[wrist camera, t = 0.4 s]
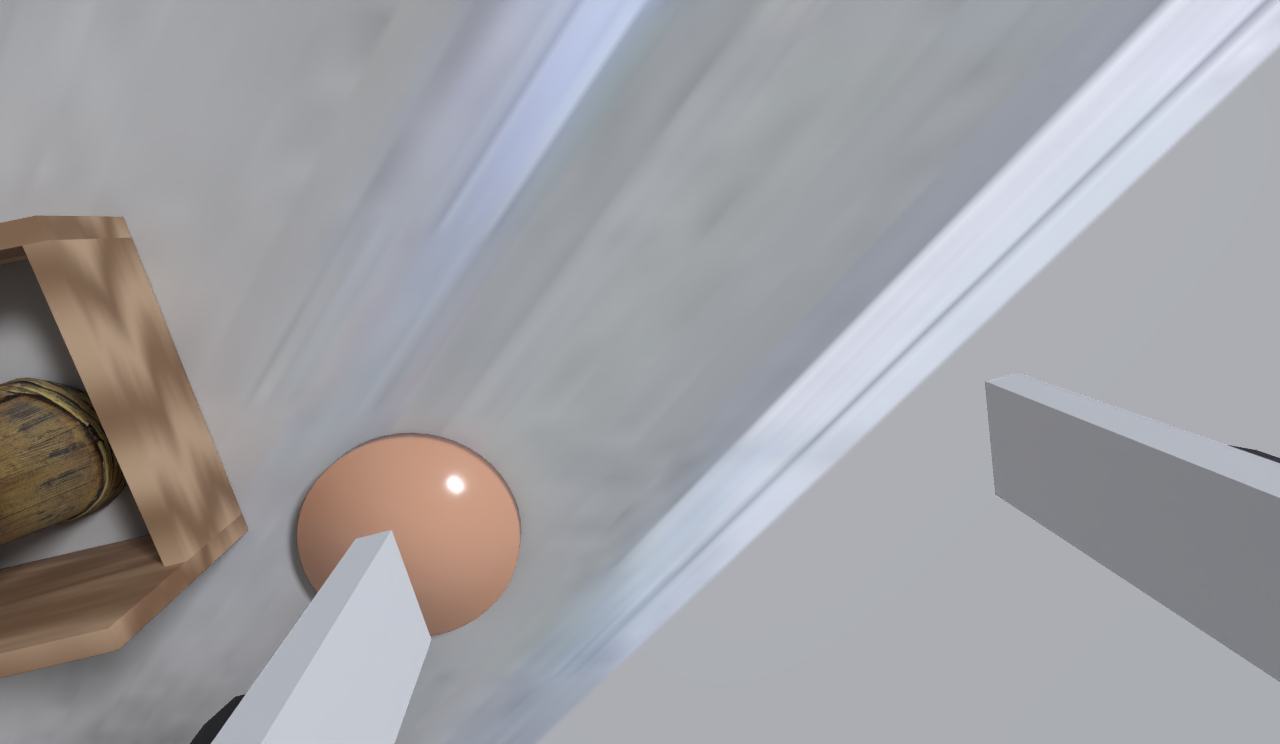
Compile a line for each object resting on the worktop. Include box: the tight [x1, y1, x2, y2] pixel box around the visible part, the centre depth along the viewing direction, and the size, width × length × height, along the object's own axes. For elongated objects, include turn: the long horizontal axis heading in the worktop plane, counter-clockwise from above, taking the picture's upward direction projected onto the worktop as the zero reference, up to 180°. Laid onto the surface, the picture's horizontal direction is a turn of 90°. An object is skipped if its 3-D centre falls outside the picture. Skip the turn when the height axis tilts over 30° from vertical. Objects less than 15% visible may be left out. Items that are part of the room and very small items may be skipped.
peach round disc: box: [297, 433, 521, 636], centre depth 42 cm, size 14×14×2 cm
